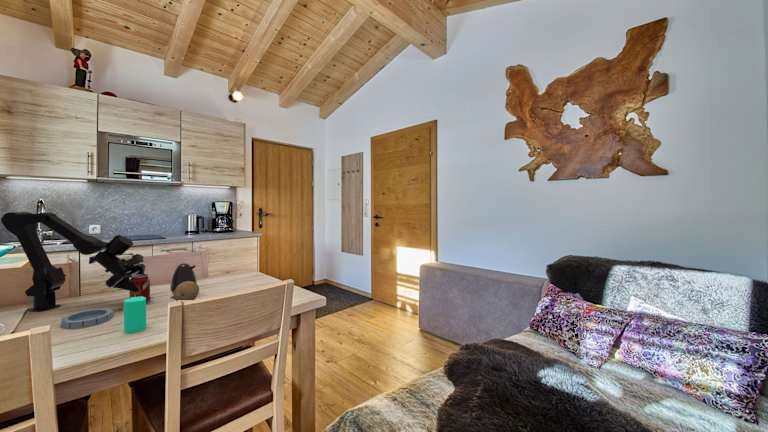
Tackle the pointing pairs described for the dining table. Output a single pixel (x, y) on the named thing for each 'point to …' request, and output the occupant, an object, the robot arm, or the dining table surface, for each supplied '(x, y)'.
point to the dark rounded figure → (182, 275)
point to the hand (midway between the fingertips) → (143, 287)
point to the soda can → (141, 286)
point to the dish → (86, 318)
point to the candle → (134, 314)
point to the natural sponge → (186, 291)
